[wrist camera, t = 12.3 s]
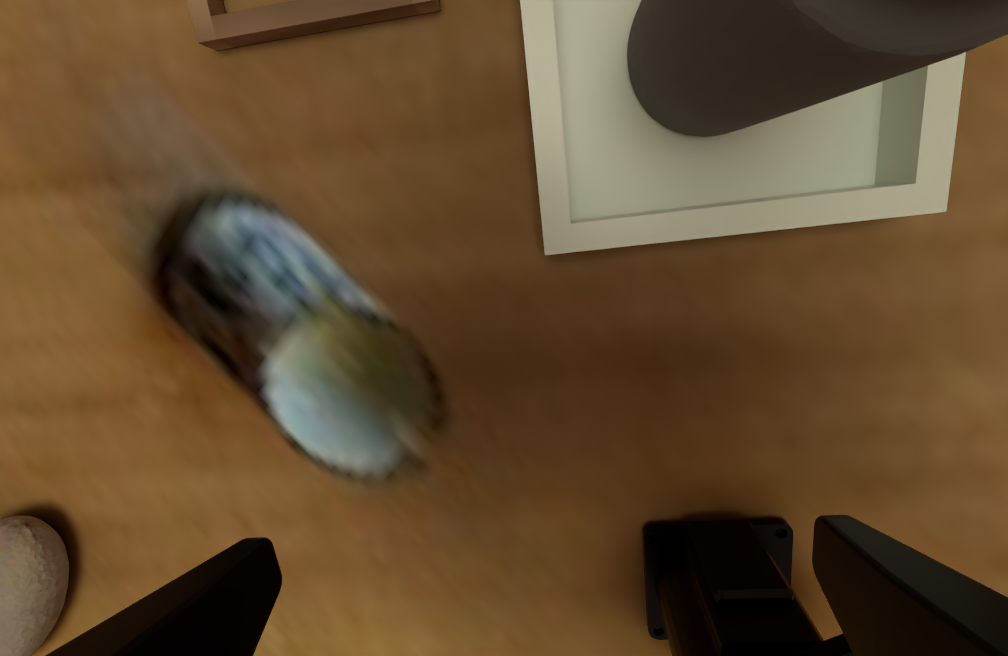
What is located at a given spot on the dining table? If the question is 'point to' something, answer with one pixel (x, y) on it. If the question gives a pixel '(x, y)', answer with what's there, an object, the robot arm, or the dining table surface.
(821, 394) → the dining table surface
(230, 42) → the seat frame
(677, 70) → the bottle
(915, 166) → the tray
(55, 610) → the decorative stone
